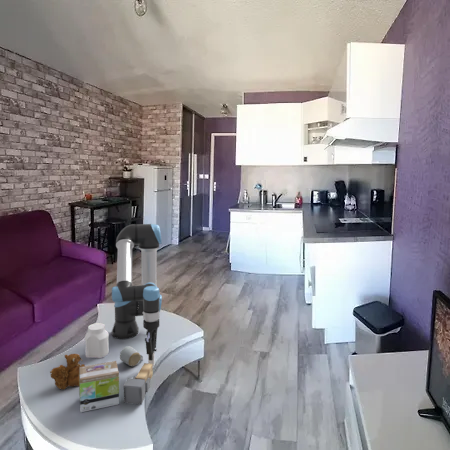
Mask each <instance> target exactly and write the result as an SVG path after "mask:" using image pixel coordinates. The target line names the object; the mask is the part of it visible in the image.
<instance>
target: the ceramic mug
mask: <svg viewBox="0 0 450 450" xmlns="http://www.w3.org/2000/svg"><path fill="white" fill-rule="evenodd" d="M119 358H120V360H121V362H123V363H124V364H126V365H127V366H129V367H135V366H137V365H138V364H139V363H140V362H141V361H143V360H144V356H143V355H142V354H140V353H139V351H137V350H136V349H135V348H133V347H132V346H129V345H127V346H125V347H124V348H122V349H121V351H120V354H119Z"/></svg>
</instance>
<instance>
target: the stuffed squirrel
mask: <svg viewBox="0 0 450 450" xmlns="http://www.w3.org/2000/svg"><path fill="white" fill-rule="evenodd" d="M64 358H65V361H66V365H63V364H60V365H59V366H57V367H53V368H52V369H51V371H49V373H50V378H51V379H53V380H54V385H55V386H56V388H57V389H59V390H66V389H67V388H69V387H79V367H83V366H86V365H85V364H83V363H82V364H80V361H81V362H83V359H82V358H81V355H80V354H78V353H70V354H65V355H64Z"/></svg>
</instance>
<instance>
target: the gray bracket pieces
mask: <svg viewBox="0 0 450 450" xmlns="http://www.w3.org/2000/svg"><path fill="white" fill-rule="evenodd" d="M135 378H136V376H135V375H134V376H132V377H131V378H130V377H128V378H127V379H126V381H125V382H124V384H123V404H130V403H133V405H142V404H143V402H144V401H145V398H146V393H148V392H149V390H150V388H151V379H150V378H148V379H147V380H146V382H145V380H144V379H135Z"/></svg>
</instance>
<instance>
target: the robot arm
mask: <svg viewBox="0 0 450 450" xmlns="http://www.w3.org/2000/svg"><path fill="white" fill-rule="evenodd" d="M161 233H162V232H161V228H160V225H158V224H155V223H154V224H153V223H143V224H141V223H140V224H137V223H136V224H135V223H134V224H133V223H132V224H129V225H126V226H125V227H124V228H122V229H121V230H120V232H119V233H118V235H117V236H116V240H115V247H116V249H117V261H116V286H112V288H111V301H112V302H114V324H113V325H112V326H113V327H112V330H111V335H112V337H113V338H115V339H117V340H118V339H119V340H127V339H132V338H134V337H136V336H137V335H138V334H139V329H140V328H139V326H138V322H137V320H136V317H143V323H142V325H143V328H144V329H145V330H146V332H145V333H146V337H145V338H144V342H145V350H146V355H147V356H148V358H147V359H148V364H153V367H154V366H155V364H156V361H155V357H156V354H155V353H156V352H157V339H158V338H157V337H158V328H159V327H160V313H161V309H162V302H163V301H162V300H163V296H162V294H160V288H159V287H158V286H157V285H158V284H157V283H158V282H157V281H158V280H157V279H158V278H157V275H158V274H157V270H158V269H157V267H158V266H157V261H158V260H157V259H158V258H157V257H158V255H157V254H158V253H157V250H158V249H159V248H160V245H162V244H163V242H162V241H163V240H162V234H161ZM137 245H138V248H139V250H140V251H141V284H140V285H139V284H138V285H133V249H134V247H135V246H137Z"/></svg>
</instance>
